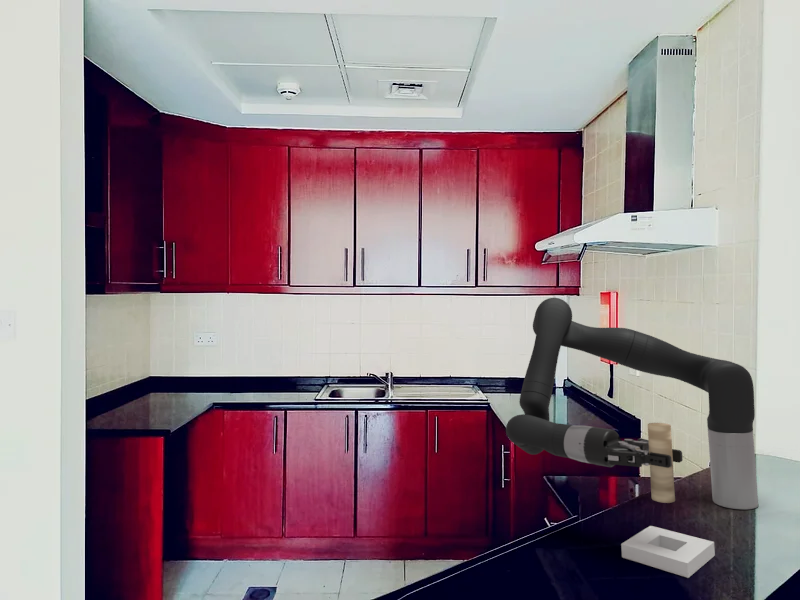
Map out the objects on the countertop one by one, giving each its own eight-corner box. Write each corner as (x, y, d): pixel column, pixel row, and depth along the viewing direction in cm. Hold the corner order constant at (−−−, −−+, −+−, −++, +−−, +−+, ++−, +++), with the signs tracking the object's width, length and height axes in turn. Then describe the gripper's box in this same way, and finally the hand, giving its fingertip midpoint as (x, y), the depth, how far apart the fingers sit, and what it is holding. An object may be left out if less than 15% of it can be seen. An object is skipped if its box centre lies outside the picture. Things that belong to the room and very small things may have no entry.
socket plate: (651, 538, 112) (650, 525, 112) (714, 555, 103) (714, 541, 103) (622, 557, 104) (621, 543, 104) (688, 577, 95) (687, 563, 95)
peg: (657, 494, 107) (653, 421, 107) (678, 498, 104) (674, 424, 104) (647, 499, 104) (643, 425, 105) (669, 504, 101) (665, 427, 102)
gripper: (572, 433, 111) (657, 446, 97) (608, 421, 120) (691, 432, 107) (574, 470, 110) (660, 488, 97) (610, 456, 120) (693, 471, 107)
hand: (675, 459), depth 102 cm, fingers closed on peg, 4 cm apart
